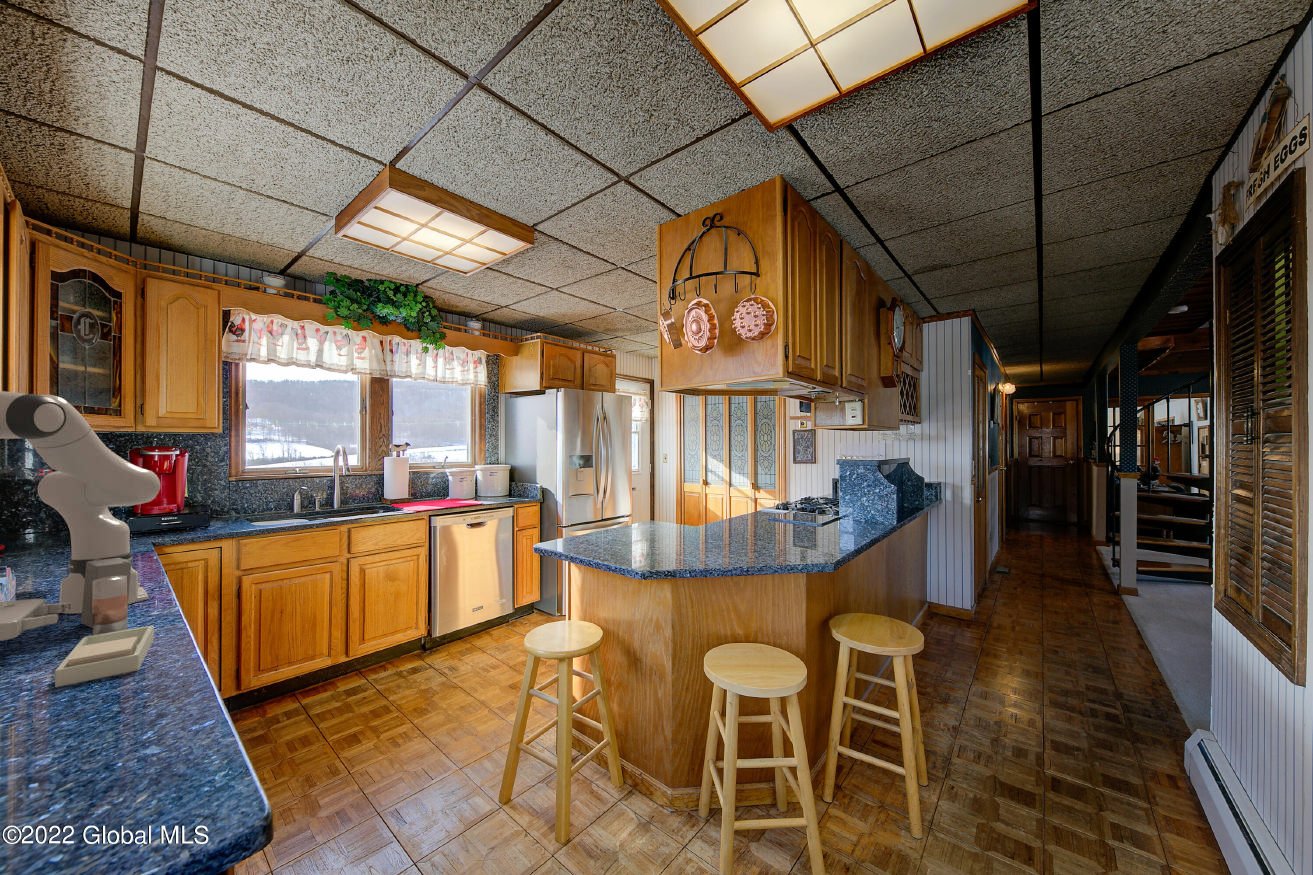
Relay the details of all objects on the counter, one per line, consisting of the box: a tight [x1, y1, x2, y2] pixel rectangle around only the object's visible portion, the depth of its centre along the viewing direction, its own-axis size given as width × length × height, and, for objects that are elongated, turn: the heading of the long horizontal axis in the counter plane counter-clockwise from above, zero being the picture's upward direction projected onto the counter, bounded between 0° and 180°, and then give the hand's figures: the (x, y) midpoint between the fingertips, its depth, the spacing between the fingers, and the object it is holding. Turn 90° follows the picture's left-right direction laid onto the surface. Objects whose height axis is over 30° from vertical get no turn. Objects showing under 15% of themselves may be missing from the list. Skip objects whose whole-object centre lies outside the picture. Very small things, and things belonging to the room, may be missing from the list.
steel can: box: [92, 576, 128, 636], centre depth 119 cm, size 6×6×14 cm
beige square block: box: [68, 636, 138, 667], centre depth 101 cm, size 8×8×4 cm
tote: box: [54, 624, 155, 688], centre depth 104 cm, size 21×11×4 cm, turn 39°
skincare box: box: [80, 558, 132, 629], centre depth 129 cm, size 8×7×16 cm
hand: (64, 612), depth 114 cm, fingers open, 8 cm apart
